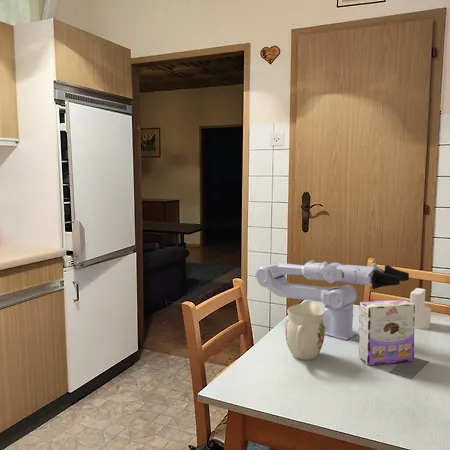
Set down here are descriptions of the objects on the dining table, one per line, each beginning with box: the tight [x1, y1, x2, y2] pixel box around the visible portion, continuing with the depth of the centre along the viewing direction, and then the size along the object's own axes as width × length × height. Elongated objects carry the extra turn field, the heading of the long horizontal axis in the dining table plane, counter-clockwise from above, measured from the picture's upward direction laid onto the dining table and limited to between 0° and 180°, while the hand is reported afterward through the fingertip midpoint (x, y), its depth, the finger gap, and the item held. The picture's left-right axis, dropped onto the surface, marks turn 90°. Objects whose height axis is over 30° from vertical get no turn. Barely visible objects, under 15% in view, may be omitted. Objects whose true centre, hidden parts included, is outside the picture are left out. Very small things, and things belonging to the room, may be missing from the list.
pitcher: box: [285, 300, 325, 361], centre depth 129 cm, size 11×18×14 cm, turn 160°
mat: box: [388, 356, 429, 380], centre depth 123 cm, size 6×14×1 cm, turn 139°
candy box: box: [358, 299, 415, 366], centre depth 127 cm, size 14×6×16 cm, turn 99°
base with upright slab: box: [409, 287, 432, 330], centre depth 158 cm, size 9×9×12 cm
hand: (404, 278), depth 133 cm, fingers open, 7 cm apart
